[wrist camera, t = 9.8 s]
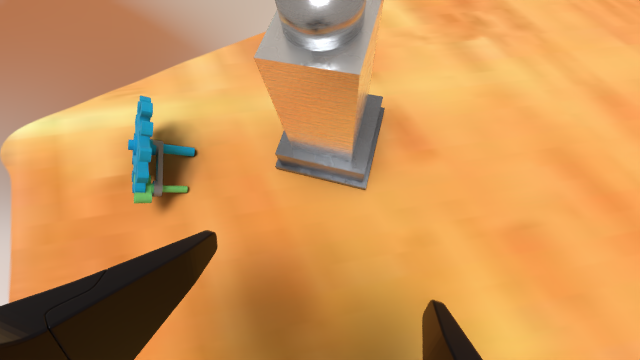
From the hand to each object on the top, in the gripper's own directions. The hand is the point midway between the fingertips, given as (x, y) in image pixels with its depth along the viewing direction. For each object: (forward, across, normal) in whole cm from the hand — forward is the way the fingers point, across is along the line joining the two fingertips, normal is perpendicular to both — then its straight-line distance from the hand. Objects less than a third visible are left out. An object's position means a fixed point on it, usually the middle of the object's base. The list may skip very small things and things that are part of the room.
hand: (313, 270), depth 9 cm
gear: (+14, +21, +6) cm, 26 cm away
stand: (+19, +3, 0) cm, 19 cm away
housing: (+17, +3, -2) cm, 17 cm away
